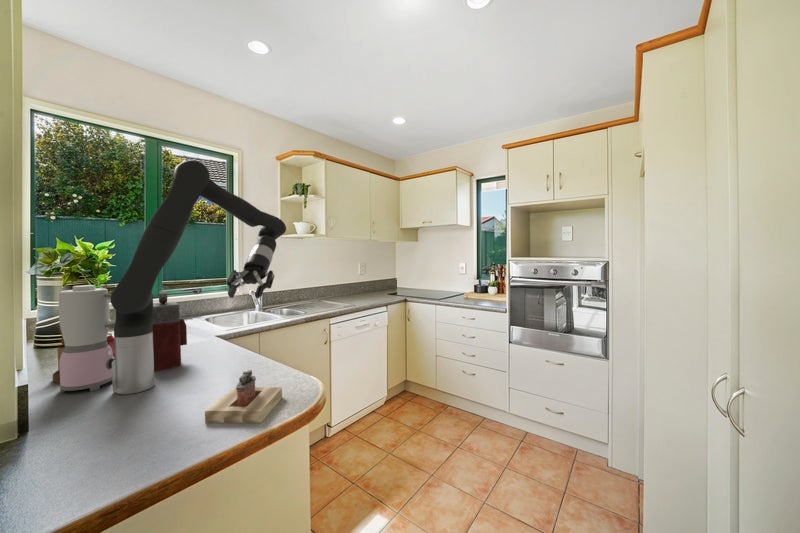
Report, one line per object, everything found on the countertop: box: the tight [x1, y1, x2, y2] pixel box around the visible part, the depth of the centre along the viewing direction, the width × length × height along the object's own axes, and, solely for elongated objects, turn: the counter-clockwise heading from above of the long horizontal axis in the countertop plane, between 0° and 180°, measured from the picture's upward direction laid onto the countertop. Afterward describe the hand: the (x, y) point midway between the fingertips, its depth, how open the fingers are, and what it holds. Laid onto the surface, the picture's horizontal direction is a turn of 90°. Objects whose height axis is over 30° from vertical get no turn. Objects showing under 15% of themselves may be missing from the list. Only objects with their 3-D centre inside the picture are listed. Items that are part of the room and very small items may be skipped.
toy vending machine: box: [153, 290, 188, 372], centre depth 121 cm, size 9×11×28 cm
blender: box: [58, 284, 116, 394], centre depth 102 cm, size 16×12×32 cm
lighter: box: [235, 369, 256, 407], centre depth 87 cm, size 8×3×10 cm, turn 3°
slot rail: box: [204, 386, 283, 424], centre depth 87 cm, size 14×14×3 cm
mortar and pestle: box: [52, 327, 65, 383], centre depth 108 cm, size 7×6×18 cm
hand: (243, 296), depth 103 cm, fingers open, 8 cm apart
